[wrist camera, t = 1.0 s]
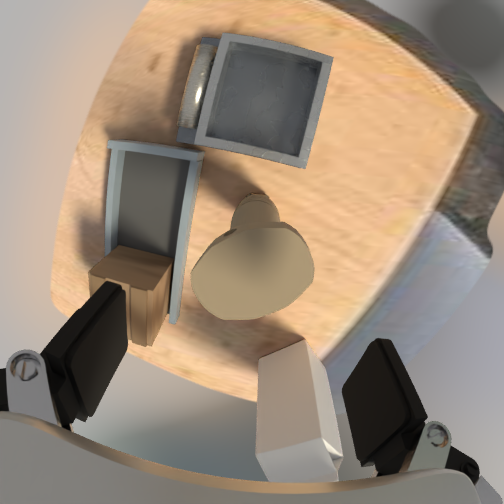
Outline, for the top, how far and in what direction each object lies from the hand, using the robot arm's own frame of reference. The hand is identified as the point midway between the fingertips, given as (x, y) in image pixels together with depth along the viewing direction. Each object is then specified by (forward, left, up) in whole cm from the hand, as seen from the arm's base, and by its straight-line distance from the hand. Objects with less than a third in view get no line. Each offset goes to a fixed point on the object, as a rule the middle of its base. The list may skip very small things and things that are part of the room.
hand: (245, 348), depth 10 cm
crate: (+11, -11, -20) cm, 25 cm away
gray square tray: (-11, -3, -20) cm, 23 cm away
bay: (+6, -11, -20) cm, 24 cm away
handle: (0, 0, -20) cm, 20 cm away
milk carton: (+20, +10, -20) cm, 30 cm away
